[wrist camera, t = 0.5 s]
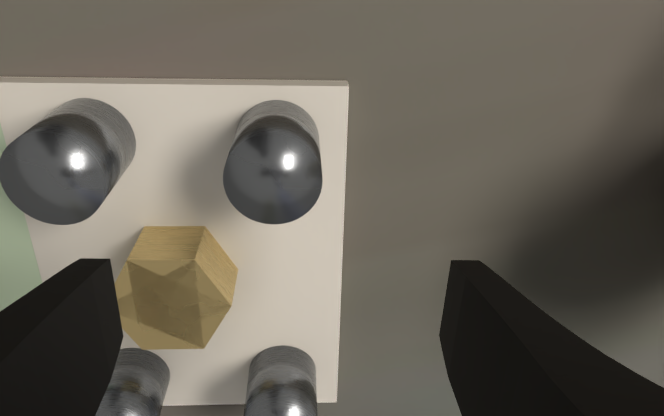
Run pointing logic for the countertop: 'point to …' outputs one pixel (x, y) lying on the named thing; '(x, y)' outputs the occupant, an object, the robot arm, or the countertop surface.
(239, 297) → the plate
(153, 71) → the countertop surface
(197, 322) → the faceted gold polyhedron
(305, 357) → the spacers
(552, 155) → the countertop surface
